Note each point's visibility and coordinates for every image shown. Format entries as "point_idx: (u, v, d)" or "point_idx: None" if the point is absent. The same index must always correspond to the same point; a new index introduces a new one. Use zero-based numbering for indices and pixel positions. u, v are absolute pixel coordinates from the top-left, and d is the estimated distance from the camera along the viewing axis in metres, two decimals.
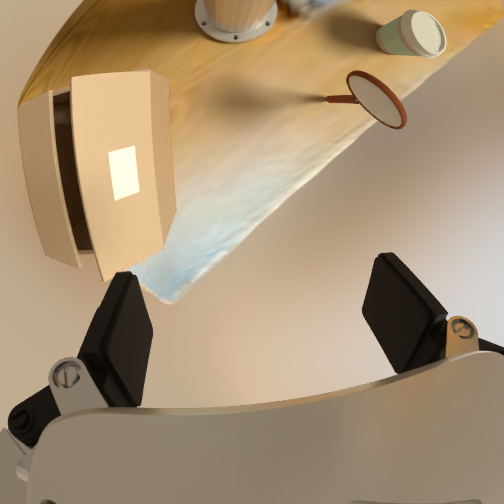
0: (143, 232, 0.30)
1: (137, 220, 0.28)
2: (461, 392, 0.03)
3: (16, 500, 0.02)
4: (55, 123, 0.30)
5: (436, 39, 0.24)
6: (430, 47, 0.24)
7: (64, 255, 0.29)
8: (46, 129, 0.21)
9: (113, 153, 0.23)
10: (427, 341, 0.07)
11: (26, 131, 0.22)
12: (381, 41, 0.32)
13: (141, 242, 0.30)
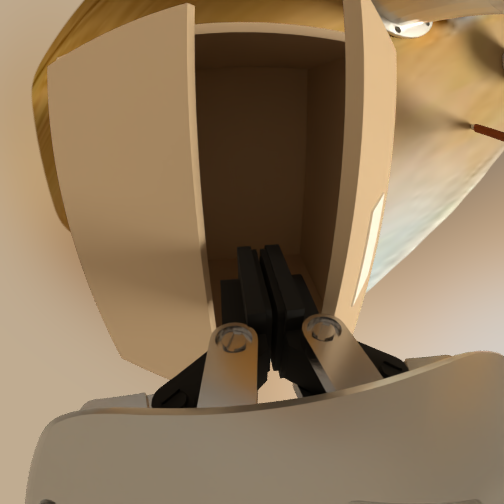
0: None
1: (351, 321, 0.16)
2: (461, 392, 0.03)
3: None
4: None
5: None
6: None
7: None
8: (165, 113, 0.08)
9: None
10: (285, 338, 0.08)
11: (75, 119, 0.10)
12: None
13: None
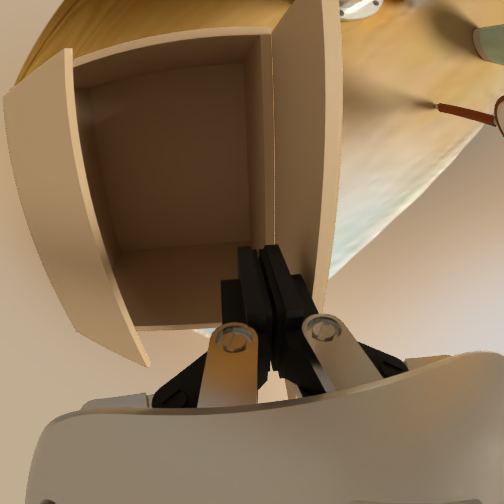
0: None
1: None
2: (461, 392, 0.03)
3: None
4: None
5: None
6: None
7: (116, 346, 0.19)
8: (59, 132, 0.10)
9: None
10: (284, 338, 0.08)
11: (19, 138, 0.11)
12: (482, 46, 0.19)
13: None
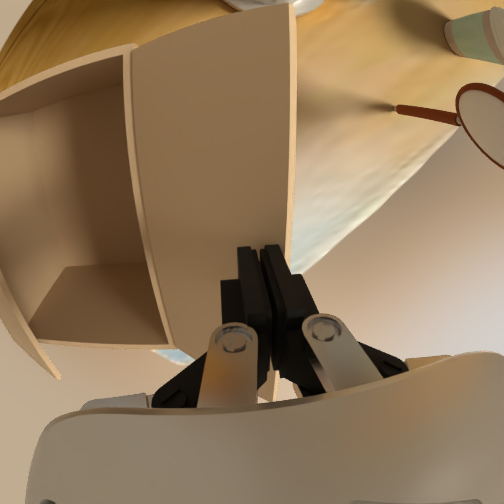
0: None
1: None
2: (461, 392, 0.03)
3: None
4: (7, 146, 0.18)
5: None
6: None
7: (35, 357, 0.16)
8: None
9: None
10: (285, 338, 0.08)
11: None
12: (454, 39, 0.19)
13: None
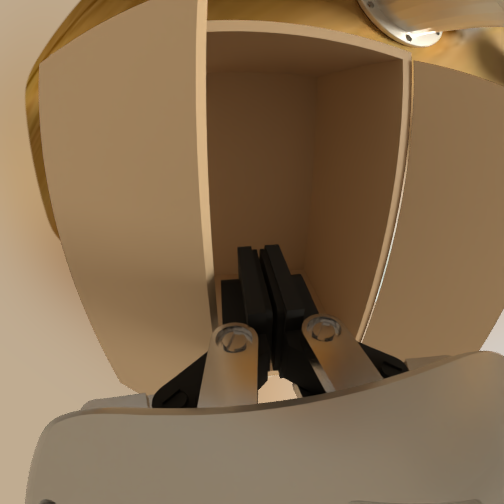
0: None
1: None
2: (461, 392, 0.03)
3: None
4: None
5: None
6: None
7: None
8: (166, 124, 0.07)
9: None
10: (284, 338, 0.08)
11: (65, 126, 0.08)
12: None
13: None
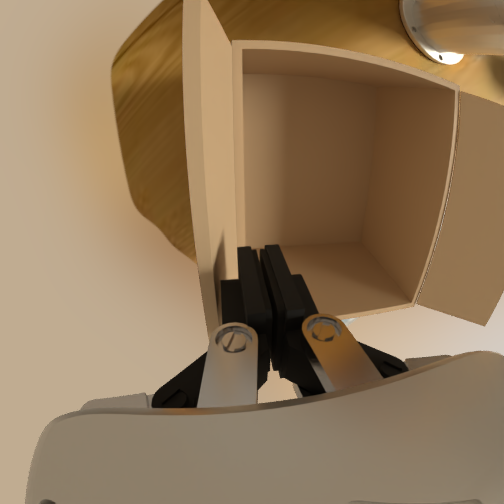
0: None
1: None
2: (461, 392, 0.03)
3: None
4: None
5: None
6: None
7: None
8: None
9: None
10: (285, 338, 0.08)
11: None
12: None
13: None
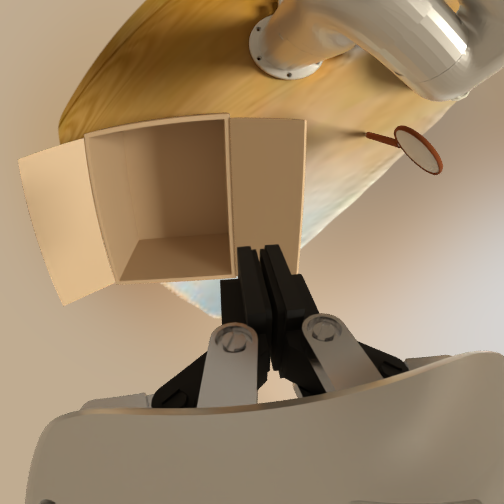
0: None
1: None
2: (461, 392, 0.03)
3: None
4: (113, 152, 0.36)
5: None
6: None
7: None
8: None
9: None
10: (285, 338, 0.08)
11: None
12: None
13: None
